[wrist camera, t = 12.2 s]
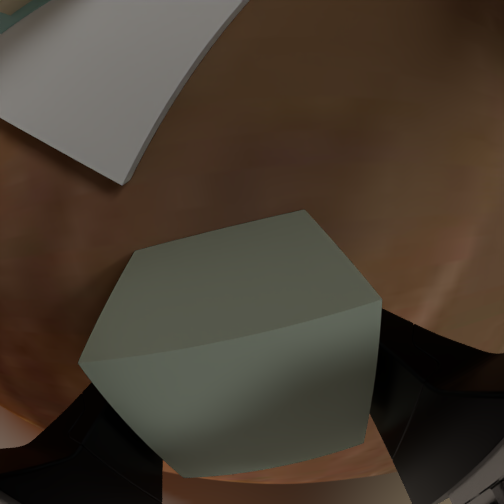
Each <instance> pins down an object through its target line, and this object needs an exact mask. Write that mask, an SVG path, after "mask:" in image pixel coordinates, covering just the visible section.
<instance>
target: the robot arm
mask: <svg viewBox="0 0 504 504" xmlns="http://www.w3.org/2000/svg"><path fill="white" fill-rule="evenodd" d="M370 415H371V417H372V419H373V421H374V423H375V425H376V427H377V429H378V431H379V433H380V435H381V437H382V439H383V441H384V444H385V446H386V448H387V450H388V452H389V454H390V456H391V458H392V459H393V463H394V465H395V467H396V469H397V471H398V473H399V476H400V477H401V480H402V482H403V484H404V486H405V489H406V491H407V493H408V495H409V497H410V500H411V502H412V504H438V503H440V502H442V501H444V500H445V499H447V498H450V500H451V502H452V504H504V353H501V354H494V353H488V352H485V351H481V350H479V349H476V348H473V347H470V346H467V345H465V344H462V343H459V342H456V341H453V340H451V339H448V338H446V337H443V336H440V335H438V334H435V333H433V332H431V331H429V330H427V329H424V328H422V327H420V326H418V325H416V324H414V325H413V323H412V322H410V321H408V320H405V319H403V318H401V317H399V316H397V315H395V314H393V313H391V312H389V311H387V310H385V309H382V310H381V325H380V337H379V348H378V357H377V366H376V374H375V381H374V388H373V395H372V401H371V407H370ZM162 469H163V459H162V458H161V457H160V456H159V455H157V454H156V453H155V452H154V451H153V450H152V449H151V448H150V447H149V446H148V445H147V444H146V443H145V442H144V441H143V440H142V439H141V438H140V437H139V436H138V435H137V434H136V433H135V432H134V431H133V430H132V429H131V427H130V426H129V425H128V424H127V423H126V422H125V421H124V420H123V419H122V418H121V416H120V415H119V414H118V413H117V412H116V411H115V410H114V409H113V407H112V406H111V405H110V404H109V403H108V401H107V400H106V399H105V398H104V397H103V395H102V394H101V393H100V392H99V390H98V389H97V388H96V387H95V385H94V384H93V383H91V384H90V385H89V386H88V387H87V388H86V389H85V390H84V391H83V392H82V394H80V395H79V396H78V398H77V399H76V400H75V401H74V402H73V403H72V404H71V405H70V406H69V407H68V408H67V409H66V410H65V411H64V412H63V413H62V414H61V415H60V416H59V417H58V418H57V419H56V420H54V421H53V422H52V423H51V424H50V425H49V426H48V427H47V428H46V429H45V430H44V431H43V432H41V433H40V434H39V435H38V436H37V437H36V438H35V439H34V440H33V441H31V442H30V443H28V444H26V445H24V446H20V447H16V448H5V449H0V504H162Z"/></svg>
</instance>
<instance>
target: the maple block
mask: <svg viewBox="0 0 504 504" xmlns="http://www.w3.org/2000/svg"><path fill="white" fill-rule="evenodd" d="M30 1H32V0H0V12H2V13H5V14H7V15H12V14H13V13H15V12H16V11H17V10H19V9H20V8H22V7H23V6H25V5H26V4H27V3H29V2H30Z"/></svg>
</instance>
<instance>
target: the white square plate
mask: <svg viewBox="0 0 504 504" xmlns="http://www.w3.org/2000/svg"><path fill="white" fill-rule="evenodd" d="M249 1H250V0H32V1H30V2H29V3H27V4H26V5H25V6H23V7H22V8H20V9H19V10H17V11H16V12H15V13H13V14H12V15H7V14H5V13H2V12H0V118H1V119H3V120H5V121H7V122H8V123H10V124H12V125H14V126H16V127H17V128H19V129H21V130H23V131H25V132H26V133H28V134H30V135H32V136H33V137H35V138H37V139H39V140H41V141H42V142H44V143H46V144H48V145H50V146H51V147H53V148H55V149H57V150H59V151H60V152H62V153H64V154H66V155H68V156H69V157H71V158H73V159H75V160H77V161H78V162H80V163H82V164H84V165H86V166H87V167H89V168H91V169H93V170H95V171H96V172H98V173H100V174H102V175H104V176H106V177H107V178H109V179H111V180H113V181H115V182H116V183H118V184H120V185H124V184H125V183H126V182H128V181H129V180H130V179H131V177H132V175H133V173H134V171H135V169H136V167H137V165H138V163H139V162H140V160H141V158H142V156H143V154H144V152H145V150H146V148H147V147H148V145H149V143H150V141H151V139H152V138H153V136H154V134H155V132H156V131H157V129H158V127H159V125H160V124H161V122H162V120H163V119H164V117H165V115H166V114H167V112H168V110H169V109H170V107H171V105H172V104H173V102H174V101H175V99H176V97H177V96H178V94H179V93H180V91H181V90H182V88H183V87H184V85H185V84H186V82H187V81H188V79H189V78H190V76H191V75H192V73H193V72H194V70H195V69H196V68H197V66H198V65H199V63H200V62H201V61H202V59H203V58H204V56H205V55H206V54H207V52H208V51H209V50H210V48H211V47H212V46H213V44H214V43H215V42H216V40H217V39H218V38H219V36H220V35H221V34H222V33H223V31H224V30H225V29H226V28H227V26H228V25H229V24H230V23H231V22H232V20H233V19H234V18H235V17H236V16H237V14H238V13H239V12H240V11H241V10H242V9H243V7H244V6H245V5H246V4H247V3H248V2H249Z"/></svg>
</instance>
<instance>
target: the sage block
mask: <svg viewBox="0 0 504 504" xmlns="http://www.w3.org/2000/svg"><path fill="white" fill-rule="evenodd" d="M381 310H382V298H381V297H380V296H379V295H378V294H377V292H376V291H375V290H374V289H373V287H372V286H371V285H370V284H369V283H368V281H367V280H366V279H365V278H364V277H363V275H362V274H361V273H360V272H359V271H358V269H357V268H356V267H355V266H354V265H353V263H352V262H351V261H350V260H349V259H348V258H347V256H346V255H345V254H344V253H343V252H342V251H341V250H340V248H339V247H338V246H337V245H336V244H335V243H334V242H333V240H332V239H331V238H330V237H329V236H328V235H327V234H326V233H325V231H324V230H323V229H322V228H321V227H320V226H319V225H318V224H317V223H316V221H315V220H314V219H313V218H312V217H311V216H310V215H309V214H308V213H307V212H306V211H305V209H304V210H300V211H295V212H291V213H286V214H282V215H278V216H273V217H269V218H265V219H260V220H256V221H252V222H248V223H243V224H239V225H235V226H231V227H227V228H223V229H218V230H214V231H210V232H206V233H202V234H198V235H194V236H190V237H186V238H182V239H178V240H174V241H171V242H167V243H163V244H159V245H155V246H151V247H148V248H144V249H140V250H136V251H135V252H134V253H133V255H132V257H131V259H130V260H129V262H128V264H127V266H126V267H125V269H124V271H123V273H122V275H121V276H120V278H119V280H118V282H117V284H116V286H115V287H114V289H113V291H112V293H111V295H110V297H109V299H108V301H107V303H106V305H105V307H104V309H103V311H102V312H101V314H100V316H99V318H98V321H97V323H96V325H95V327H94V329H93V331H92V333H91V335H90V337H89V339H88V341H87V344H86V346H85V348H84V350H83V352H82V355H81V357H80V359H79V361H78V364H79V365H80V367H81V368H82V370H83V371H84V372H85V374H86V375H87V376H88V378H89V379H90V380H91V382H92V383H93V384H94V385H95V387H96V388H97V389H98V390H99V392H100V393H101V394H102V395H103V397H104V398H105V399H106V400H107V401H108V403H109V404H110V405H111V406H112V407H113V409H114V410H115V411H116V412H117V413H118V414H119V415H120V416H121V418H122V419H123V420H124V421H125V422H126V423H127V424H128V425H129V426H130V427H131V429H132V430H133V431H134V432H135V433H136V434H137V435H138V436H139V437H140V438H141V439H142V440H143V441H144V442H145V443H146V444H147V445H148V446H149V447H150V448H151V449H152V450H153V451H154V452H155V453H156V454H157V455H159V456H160V457H161V458H162V459H163V460H164V461H165V462H166V463H167V464H168V465H169V466H171V467H172V468H173V469H174V470H175V471H176V472H177V473H179V474H180V475H181V476H182V477H184V478H192V477H208V476H219V475H229V474H237V473H244V472H251V471H257V470H263V469H269V468H274V467H279V466H284V465H289V464H293V463H298V462H302V461H306V460H310V459H314V458H318V457H321V456H325V455H328V454H332V453H335V452H338V451H342V450H345V449H348V448H351V447H354V446H357V445H360V444H362V443H364V438H365V434H366V429H367V424H368V418H369V413H370V407H371V401H372V395H373V388H374V381H375V374H376V366H377V357H378V348H379V337H380V325H381Z"/></svg>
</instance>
